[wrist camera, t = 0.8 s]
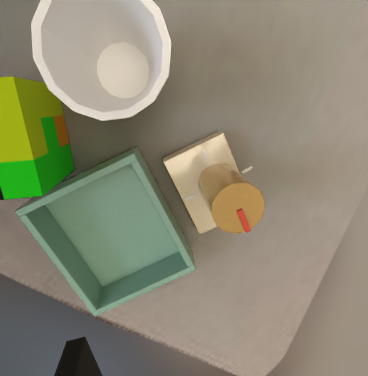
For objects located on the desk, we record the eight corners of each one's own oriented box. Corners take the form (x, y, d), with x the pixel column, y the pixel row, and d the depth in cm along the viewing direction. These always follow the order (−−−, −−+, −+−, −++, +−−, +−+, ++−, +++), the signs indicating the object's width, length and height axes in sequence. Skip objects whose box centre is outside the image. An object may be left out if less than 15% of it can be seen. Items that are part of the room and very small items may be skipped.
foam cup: (161, 118, 32) (164, 126, 20) (83, 110, 31) (36, 114, 19) (167, 31, 30) (176, -20, 17) (82, 19, 28) (26, -45, 16)
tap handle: (191, 174, 32) (203, 198, 24) (229, 156, 32) (255, 174, 24) (207, 209, 34) (224, 243, 26) (244, 192, 34) (273, 220, 26)
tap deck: (162, 158, 34) (163, 162, 32) (230, 125, 34) (236, 126, 31) (196, 226, 38) (199, 235, 35) (259, 197, 37) (266, 204, 35)
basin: (35, 195, 34) (14, 211, 29) (137, 145, 33) (133, 153, 28) (102, 289, 39) (94, 317, 34) (191, 248, 38) (196, 269, 33)
